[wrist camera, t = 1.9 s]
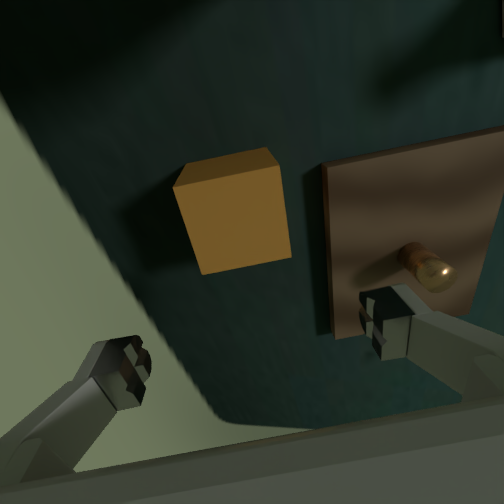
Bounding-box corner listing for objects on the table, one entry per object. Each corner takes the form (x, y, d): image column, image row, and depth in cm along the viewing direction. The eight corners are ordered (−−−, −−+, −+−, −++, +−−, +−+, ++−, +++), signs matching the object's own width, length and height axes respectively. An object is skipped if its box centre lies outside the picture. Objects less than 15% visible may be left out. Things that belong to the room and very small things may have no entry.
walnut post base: (321, 163, 21) (348, 183, 16) (503, 125, 21) (585, 134, 16) (330, 329, 30) (350, 372, 25) (458, 304, 30) (502, 344, 25)
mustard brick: (186, 163, 20) (172, 187, 15) (265, 146, 20) (279, 165, 15) (207, 234, 23) (202, 275, 18) (277, 220, 23) (291, 257, 18)
